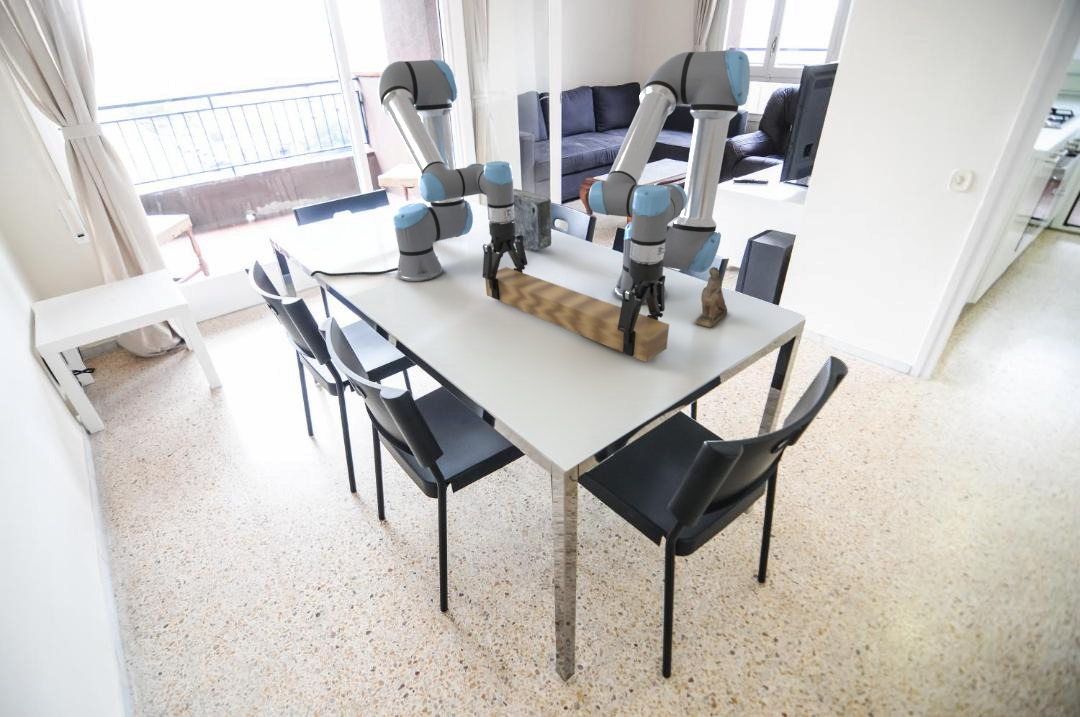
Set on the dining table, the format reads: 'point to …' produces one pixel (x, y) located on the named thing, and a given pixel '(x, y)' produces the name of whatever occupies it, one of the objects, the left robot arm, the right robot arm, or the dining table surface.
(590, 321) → the brown striped wooden beam
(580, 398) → the dining table surface
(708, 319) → the brown carved statuette
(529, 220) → the concrete block
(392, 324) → the dining table surface
